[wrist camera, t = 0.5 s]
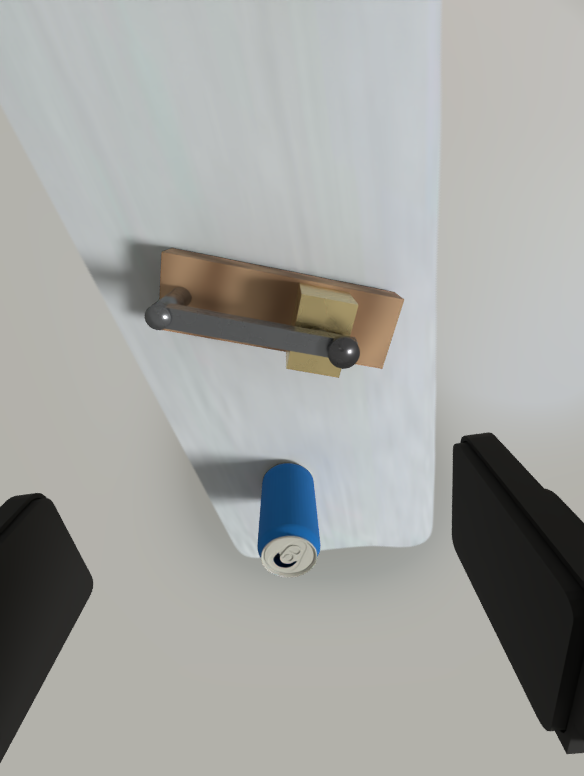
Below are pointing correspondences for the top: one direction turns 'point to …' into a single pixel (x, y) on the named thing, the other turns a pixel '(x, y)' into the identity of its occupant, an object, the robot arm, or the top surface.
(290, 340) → the lever
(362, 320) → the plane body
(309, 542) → the beverage can
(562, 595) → the robot arm
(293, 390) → the top surface
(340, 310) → the tan knob block
